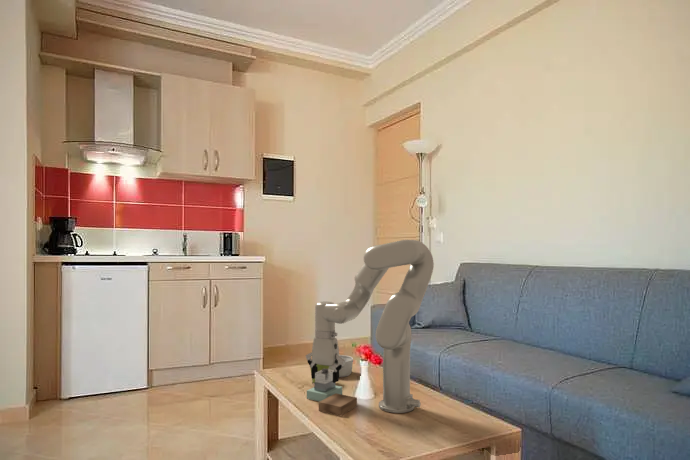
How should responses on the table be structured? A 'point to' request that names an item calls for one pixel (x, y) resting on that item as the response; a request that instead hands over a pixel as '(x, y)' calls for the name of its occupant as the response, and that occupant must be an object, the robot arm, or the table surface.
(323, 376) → the block
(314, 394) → the stand teal
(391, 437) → the table surface
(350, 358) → the ramekin
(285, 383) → the table surface
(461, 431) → the table surface
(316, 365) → the plant pot
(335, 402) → the stand walnut
